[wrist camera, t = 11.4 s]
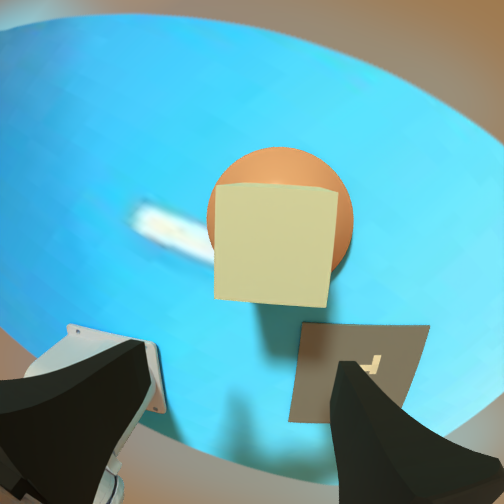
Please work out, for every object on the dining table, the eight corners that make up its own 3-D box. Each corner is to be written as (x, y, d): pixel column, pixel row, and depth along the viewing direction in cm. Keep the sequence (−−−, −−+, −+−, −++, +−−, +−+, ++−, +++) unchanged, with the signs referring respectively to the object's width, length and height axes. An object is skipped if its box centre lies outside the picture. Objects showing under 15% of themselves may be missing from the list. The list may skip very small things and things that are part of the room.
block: (241, 255, 19) (214, 298, 12) (243, 182, 18) (215, 185, 11) (313, 260, 18) (325, 307, 12) (319, 187, 17) (338, 192, 10)
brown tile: (288, 420, 23) (288, 422, 23) (302, 321, 20) (302, 323, 20) (395, 419, 22) (395, 420, 22) (429, 325, 19) (430, 326, 19)
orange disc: (210, 281, 21) (206, 286, 20) (212, 147, 18) (208, 145, 17) (342, 290, 20) (344, 296, 19) (354, 154, 17) (358, 153, 16)
